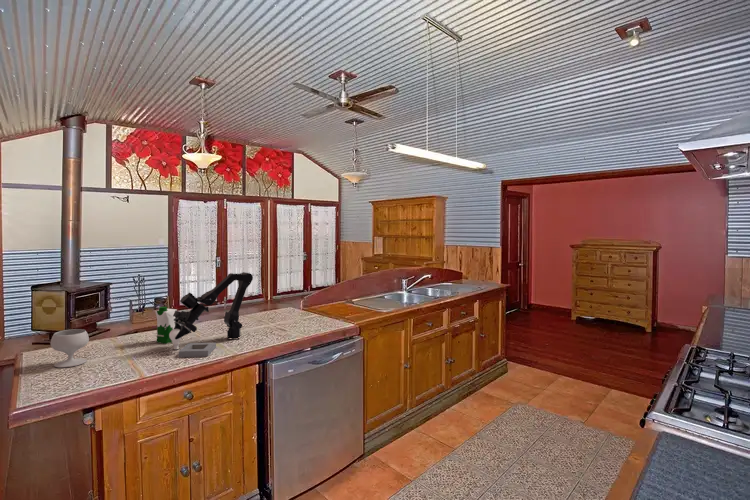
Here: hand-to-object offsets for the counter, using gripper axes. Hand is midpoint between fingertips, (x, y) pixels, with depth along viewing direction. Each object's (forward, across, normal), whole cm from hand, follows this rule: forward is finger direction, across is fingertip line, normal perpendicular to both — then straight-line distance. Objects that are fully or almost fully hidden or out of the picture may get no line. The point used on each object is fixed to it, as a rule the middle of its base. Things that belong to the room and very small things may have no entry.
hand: (173, 337), depth 200 cm
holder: (-1, +13, +10) cm, 16 cm away
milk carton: (+3, -19, +7) cm, 21 cm away
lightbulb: (+4, 0, +6) cm, 7 cm away
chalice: (+34, -11, -24) cm, 43 cm away
